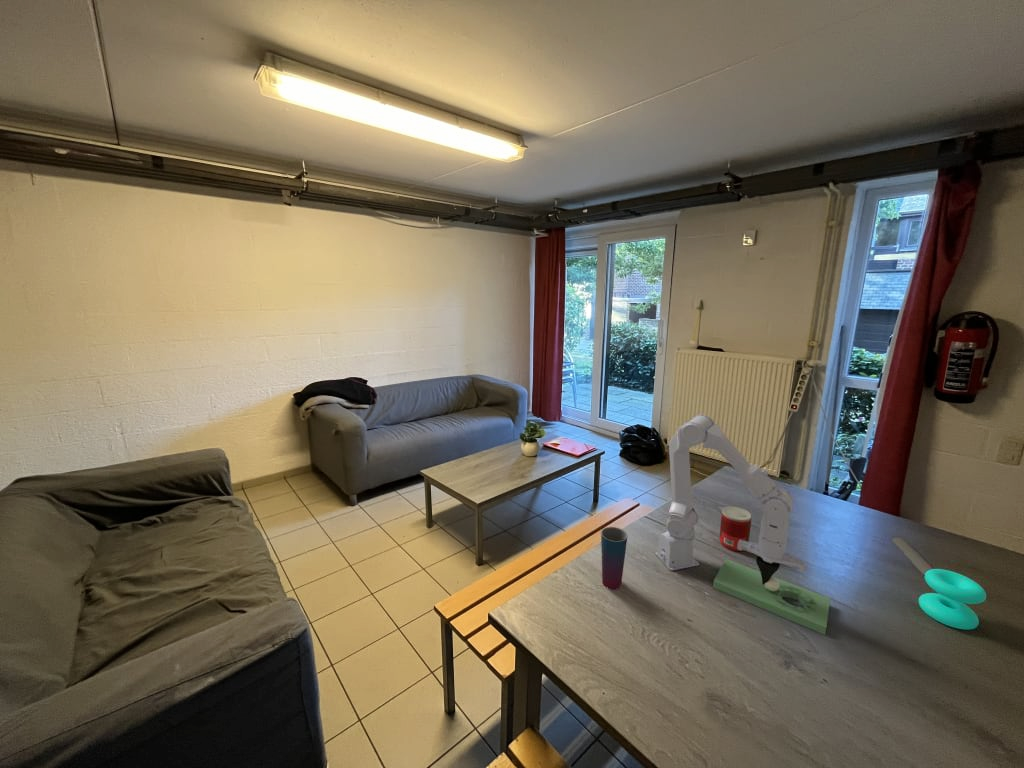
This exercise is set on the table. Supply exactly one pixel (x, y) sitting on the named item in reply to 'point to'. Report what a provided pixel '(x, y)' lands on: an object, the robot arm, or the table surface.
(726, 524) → the canned food
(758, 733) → the table surface
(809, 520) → the table surface
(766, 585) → the ball
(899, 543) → the half round rod
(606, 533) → the cup
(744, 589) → the green
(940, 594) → the donuts
